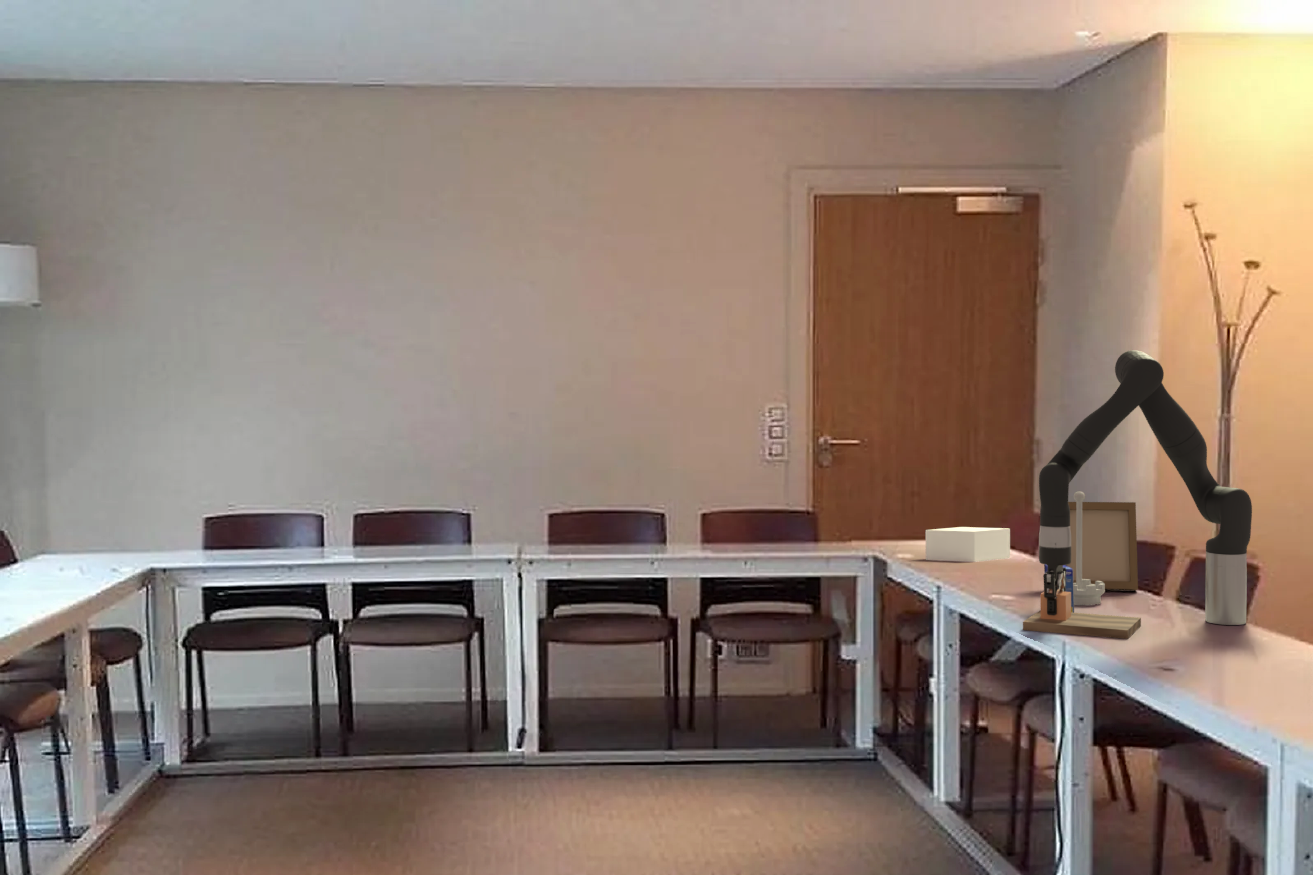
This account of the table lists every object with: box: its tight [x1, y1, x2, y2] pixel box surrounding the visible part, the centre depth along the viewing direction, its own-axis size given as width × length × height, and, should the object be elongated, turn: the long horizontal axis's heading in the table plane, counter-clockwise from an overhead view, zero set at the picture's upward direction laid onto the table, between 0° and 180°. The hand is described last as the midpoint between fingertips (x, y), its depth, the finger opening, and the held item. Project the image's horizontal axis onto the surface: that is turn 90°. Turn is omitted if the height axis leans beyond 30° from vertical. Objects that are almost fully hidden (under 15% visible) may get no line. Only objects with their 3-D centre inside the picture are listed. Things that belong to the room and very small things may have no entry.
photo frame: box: [1067, 501, 1139, 592], centre depth 373 cm, size 15×22×25 cm
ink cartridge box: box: [1043, 564, 1075, 613], centre depth 333 cm, size 10×6×14 cm, turn 177°
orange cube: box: [1040, 591, 1071, 620], centre depth 316 cm, size 6×6×6 cm
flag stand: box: [1073, 491, 1106, 606], centre depth 350 cm, size 13×13×30 cm
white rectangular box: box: [925, 526, 1011, 563], centre depth 437 cm, size 14×29×10 cm, turn 94°
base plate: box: [1022, 609, 1142, 640], centre depth 313 cm, size 18×24×6 cm
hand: (1055, 612), depth 317 cm, fingers closed on orange cube, 6 cm apart
